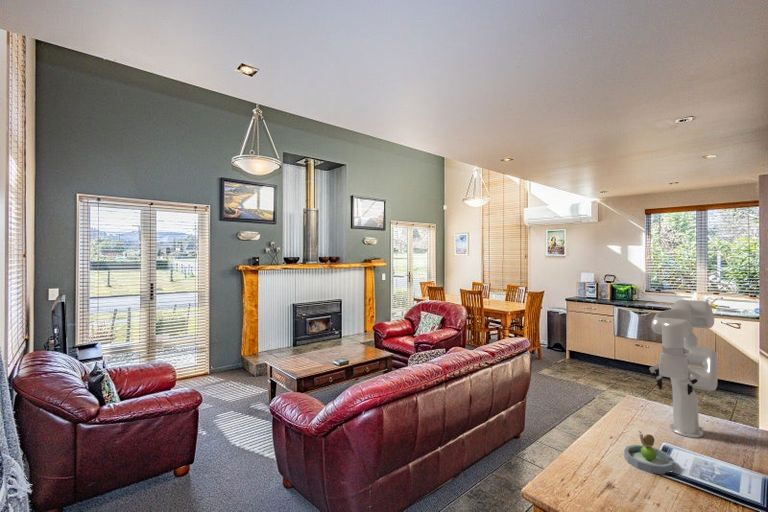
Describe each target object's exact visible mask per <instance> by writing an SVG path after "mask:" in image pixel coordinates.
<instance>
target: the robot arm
mask: <svg viewBox="0 0 768 512" xmlns="http://www.w3.org/2000/svg"><path fill="white" fill-rule="evenodd" d="M714 325H715V316H714V312H713V308H712V306H711V305H710V303H708V302H707V301H705V300H691V299H681V300H680V299H679V300H676V301H675V302H674V303H673V304H672V306H671V308H670V309H665V310H663V311H659V312H657V313H655V315H654V317H653V318H652V321H651V326H650V327H651V330H652V332H653V333H654V334H657V335H661V341H662V343H661V347H662V351H660V355H659V363H658V365H653V366H651V367H649V369H648V370H649V371H650V373H651V375H652V376H653V377H654V378H655V380H656V381H657V383H656V385H657V387H658V389H659V390H662V389H663V377H666V378H670V382H671V389H672V391H671V392H672V411H673V413H672V417H673V423H671V424H670V425H669V429H670V430H671V432H673V433H675V434H678V435H680V436H683V437H687V438H702V437H703V436H704V431H703V430H702V429H700V425H699V424H700V423H699V421H700V419H699V398H698V395H697V393H696V391H695V390H693V389H698V390H702V391H703V390H704V391H715V390H716V389H717V387H718V381H719V380H718V375H719V374H718V367H719V364H718V363H719V362H718V361H719V360H718V354H717V352H716V351H715V349H712V348H709V347H705V346H698V340H699V339H698V336H697V335H696V334H695V333H694V331H693V330H694V328H698V329H712V327H713V326H714ZM655 370H658V373H657V372H656V371H655Z"/></svg>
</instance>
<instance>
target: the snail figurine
mask: <svg viewBox="0 0 768 512" xmlns="http://www.w3.org/2000/svg"><path fill="white" fill-rule="evenodd" d="M638 433H639V434H638V435H639V439H640V443H641V444H642V445H644V446H643V447H642V448H641V454H642V456H643V457H644V458H645V459H647V460H654V459H655V458H656V456H657V454H656V451H655V450H654V448H655V447H653V446H654V445H655V437H654V436H653V435H652V434H645V435H644V434H643V433H642V431H640V430H639V431H638ZM652 447H653V448H652Z"/></svg>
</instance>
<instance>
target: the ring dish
mask: <svg viewBox="0 0 768 512" xmlns="http://www.w3.org/2000/svg"><path fill="white" fill-rule="evenodd" d="M643 446H644V445H643V444H642V445H641V444H633V445H632V444H631V445H627V446H626V447H625V448H624V450H623V454H624V455H623V456H624V459H625V461H626V462H627V463H628V464H629V465H631V466H633V467H634V468H636V469H638V470H641V471H643V472H647V473H649V474H657V475H658V474H659V475H666V474H665V473H666V472H669V471H672V470H673V471H674V469H673V467H674V468H675V460H674V459H673V457H672V456H671V455H670V454H669V453H667V452H665V451H663V450H661V449H659V448H656V447H653V446H652V448H654V450H655V451H656V454H657V456H656V458H655V459H654V460H647V459H645V458H644V457H643V456H642V454H641V448H642V447H643ZM661 457H662V458H661ZM663 458H664V459H663ZM665 459H666V461H665Z"/></svg>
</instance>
